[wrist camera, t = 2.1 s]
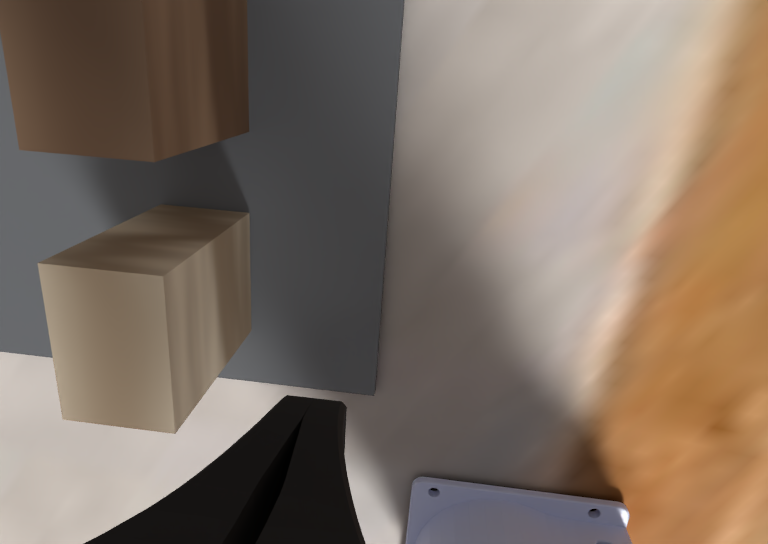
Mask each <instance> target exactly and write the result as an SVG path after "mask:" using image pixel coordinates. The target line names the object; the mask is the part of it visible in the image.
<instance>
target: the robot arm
mask: <svg viewBox="0 0 768 544" xmlns="http://www.w3.org/2000/svg"><path fill="white" fill-rule="evenodd" d="M346 410H347V407H346V406H345V404H344V403H343V402H341V401H332V400H324V399H315V398H306V397H298V396H289V395H287V396H285V397H284V398H283V399H281V400H280V401H279V402H278V403H277V404H276V405H275V406H274V407H273V408H272V409H271V410H270V411H269V412H268V413H267V414H266V415H265V416H264V417H263V418H262V419H261V420H260V421H259V422H258V423H257V424H255V425H254V426H253V427H252V428H251V429H250V430H249V431H248V432H247V433H246V434H245V435H243V436H242V437H241V438H240V439H239V440H238V441H237V442H236V443H234V444H233V445H232V446H231V447H230V448H229V449H228V450H227V451H225V452H224V453H223V454H222V455H221V456H219V457H218V458H217V459H216V460H214V461H213V462H212V463H211V464H209V465H208V466H207V467H205V468H204V469H203V470H202V471H200V472H199V473H198V474H197V475H195V476H194V477H193V478H191V479H190V480H189V481H187V482H186V483H185V484H183V485H182V486H181V487H179V488H178V489H176V490H175V491H173V492H172V493H171V494H169V495H168V496H166V497H165V498H163V499H161V500H160V501H158V502H157V503H155V504H154V505H152V506H151V507H149V508H147V509H146V510H144V511H142V512H141V513H139V514H137V515H135V516H133V517H132V518H130V519H128V520H126V521H125V522H123V523H121V524H119V525H118V526H116V527H114V528H112V529H111V530H109V531H107V532H105V533H104V534H102V535H100V536H98V537H96V538H94V539H92V540H90V541H88V542H86V543H84V544H365V541H364V538H363V535H362V532H361V529H360V525H359V522H358V519H357V515H356V512H355V508H354V504H353V500H352V496H351V491H350V487H349V482H348V477H347V471H346V464H345V456H344V448H345V429H346ZM431 488H437V489H438V490H437V491H432V490H430V489H431ZM591 509H597V510H595V511H589V510H591ZM628 520H629V512H628V509H627V507H626V505H624V504H623V503H621V502H617V501H609V500H602V499H594V498H586V497H578V496H571V495H563V494H555V493H547V492H539V491H532V490H524V489H516V488H508V487H500V486H493V485H485V484H477V483H469V482H461V481H454V480H446V479H438V478H430V477H418V478H416V479H415V480H414V481H413V483H412V489H411V498H410V507H409V516H408V525H407V534H406V543H405V544H632V542H631V540H630V537H629V534H628V532H627V529H626V527H627V523H628Z"/></svg>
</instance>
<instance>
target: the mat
mask: <svg viewBox="0 0 768 544" xmlns="http://www.w3.org/2000/svg"><path fill="white" fill-rule="evenodd" d="M403 12H404V0H247V25H248V87H249V132H247V133H244V134H241V135H238V136H235V137H232V138H228V139H225V140H222V141H219V142H216V143H213V144H210V145H207V146H204V147H200V148H197V149H194V150H191V151H188V152H185V153H182V154H179V155H175V156H172V157H169V158H166V159H163V160H160V161H157V162H146V161H135V160H124V159H113V158H102V157H91V156H80V155H69V154H58V153H46V152H35V151H24V150H19V145H18V139H17V133H16V127H15V120H14V114H13V108H12V102H11V96H10V89H9V83H8V77H7V71H6V65H5V58H4V52H3V46H2V40H1V34H0V352H9V353H17V354H26V355H34V356H43V357H51V358H53V356H52V350H51V344H50V337H49V331H48V325H47V319H46V313H45V306H44V300H43V294H42V288H41V282H40V275H39V269H38V263H39V262H41V261H43V260H45V259H47V258H49V257H51V256H53V255H56V254H58V253H60V252H62V251H64V250H66V249H68V248H70V247H72V246H74V245H77V244H79V243H81V242H83V241H85V240H87V239H89V238H91V237H93V236H95V235H98V234H100V233H102V232H104V231H106V230H108V229H110V228H112V227H114V226H116V225H119V224H121V223H123V222H125V221H127V220H129V219H131V218H133V217H135V216H137V215H140V214H142V213H144V212H146V211H148V210H150V209H152V208H154V207H156V206H158V205H161V204H162V205H173V206H183V207H194V208H204V209H214V210H225V211H235V212H246V213H249V216H250V276H251V332H250V333H249V335H248V336H247V337H246V339H245V340H244V341H243V343H242V344H241V345H240V347H239V348H238V349H237V351H236V352H235V354H234V355H233V356H232V358H231V359H230V360H229V362H228V363H227V364H226V366H225V367H224V368H223V370H222V371H221V372H220V374H219V375H218V377H220V378H228V379H237V380H245V381H254V382H262V383H270V384H279V385H287V386H296V387H304V388H313V389H321V390H330V391H338V392H346V393H355V394H363V395H372V396H374V394H375V386H376V373H377V360H378V346H379V333H380V320H381V306H382V293H383V279H384V266H385V253H386V239H387V226H388V213H389V199H390V186H391V172H392V159H393V146H394V132H395V119H396V106H397V92H398V79H399V65H400V52H401V39H402V25H403Z"/></svg>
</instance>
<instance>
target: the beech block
mask: <svg viewBox="0 0 768 544" xmlns="http://www.w3.org/2000/svg"><path fill="white" fill-rule="evenodd" d="M38 269H39V275H40V282H41V288H42V294H43V300H44V306H45V313H46V319H47V325H48V331H49V337H50V344H51V350H52V356H53V362H54V368H55V375H56V381H57V387H58V393H59V399H60V406H61V412H62V418H63V420H71V421H79V422H86V423H94V424H102V425H110V426H118V427H126V428H134V429H142V430H150V431H157V432H165V433H173V434H175V433H176V432H177V431H178V429H179V428H180V427H181V425H182V424H183V423H184V421H185V420H186V418H187V417H188V416H189V414H190V413H191V412H192V410H193V409H194V408H195V406H196V405H197V404H198V402H199V401H200V400H201V398H202V397H203V395H204V394H205V393H206V391H207V390H208V389H209V387H210V386H211V385H212V383H213V382H214V381H215V379H216V378H217V377H218V375H219V374H220V372H221V371H222V370H223V368H224V367H225V366H226V364H227V363H228V362H229V360H230V359H231V358H232V356H233V355H234V354H235V352H236V351H237V349H238V348H239V347H240V345H241V344H242V343H243V341H244V340H245V339H246V337H247V336H248V335H249V333H250V332H251V276H250V216H249V213H246V212H235V211H225V210H214V209H204V208H194V207H183V206H173V205H162V204H161V205H158V206H156V207H154V208H152V209H150V210H148V211H146V212H144V213H142V214H140V215H137V216H135V217H133V218H131V219H129V220H127V221H125V222H123V223H121V224H119V225H116V226H114V227H112V228H110V229H108V230H106V231H104V232H102V233H100V234H98V235H95V236H93V237H91V238H89V239H87V240H85V241H83V242H81V243H79V244H77V245H74V246H72V247H70V248H68V249H66V250H64V251H62V252H60V253H58V254H56V255H53V256H51V257H49V258H47V259H45V260H43V261H41V262H39V263H38Z"/></svg>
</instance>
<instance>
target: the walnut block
mask: <svg viewBox="0 0 768 544" xmlns="http://www.w3.org/2000/svg"><path fill="white" fill-rule="evenodd" d="M0 34H1V40H2V46H3V52H4V58H5V65H6V71H7V77H8V83H9V89H10V96H11V102H12V108H13V114H14V120H15V127H16V133H17V139H18V145H19V150H24V151H35V152H46V153H58V154H69V155H80V156H91V157H102V158H113V159H124V160H135V161H146V162H157V161H160V160H163V159H166V158H169V157H172V156H175V155H179V154H182V153H185V152H188V151H191V150H194V149H197V148H200V147H204V146H207V145H210V144H213V143H216V142H219V141H222V140H225V139H228V138H232V137H235V136H238V135H241V134H244V133H247V132H249V87H248V25H247V0H0Z"/></svg>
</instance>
